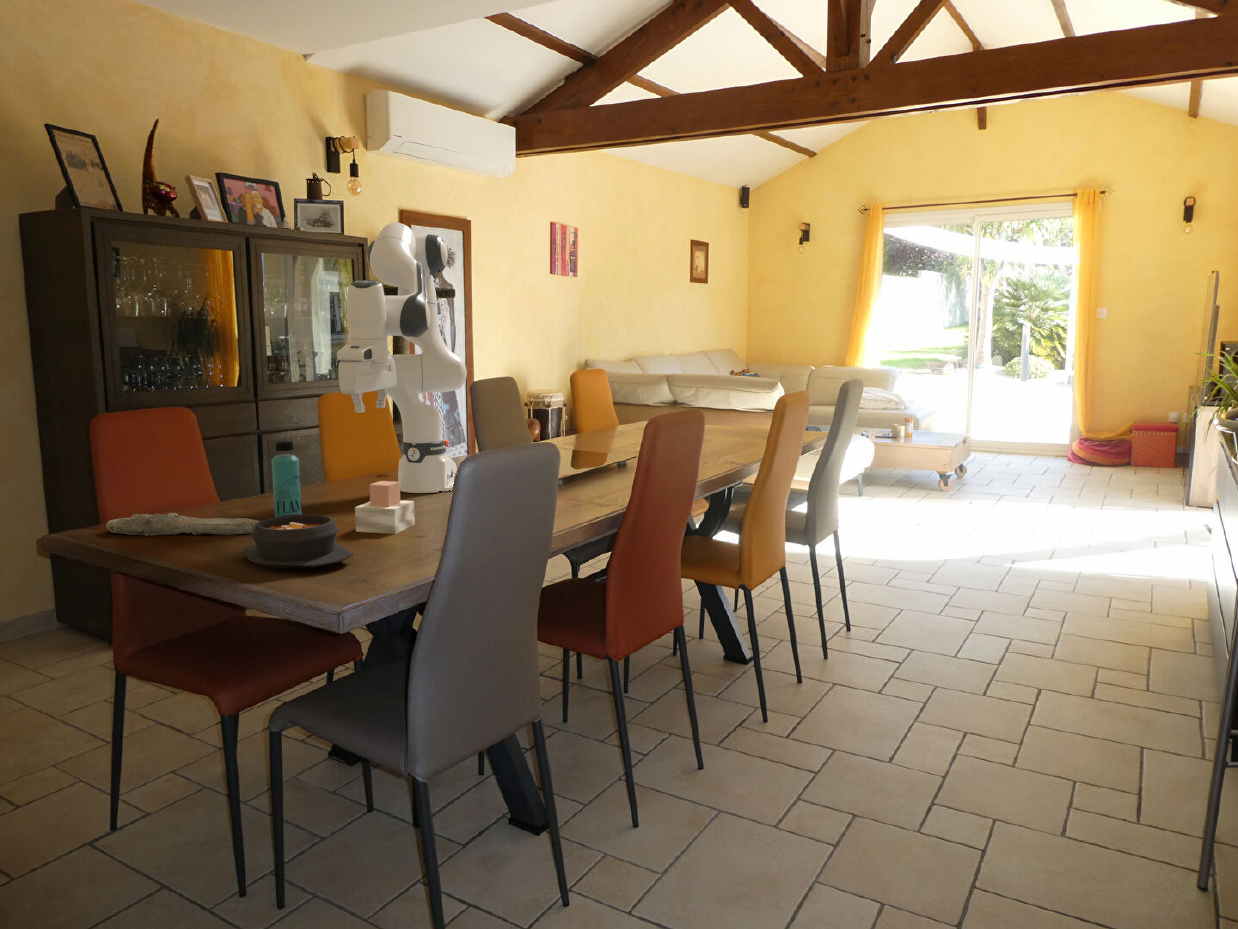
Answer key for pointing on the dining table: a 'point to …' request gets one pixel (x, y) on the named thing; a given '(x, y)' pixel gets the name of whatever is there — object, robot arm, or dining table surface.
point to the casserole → (296, 542)
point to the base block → (385, 517)
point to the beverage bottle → (286, 481)
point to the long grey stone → (179, 525)
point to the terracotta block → (384, 493)
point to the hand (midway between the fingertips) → (370, 410)
